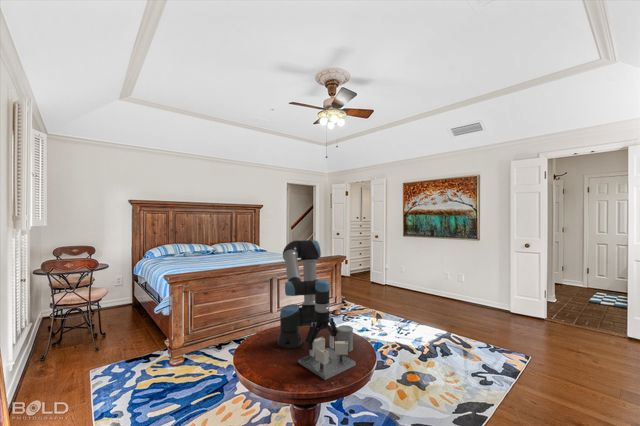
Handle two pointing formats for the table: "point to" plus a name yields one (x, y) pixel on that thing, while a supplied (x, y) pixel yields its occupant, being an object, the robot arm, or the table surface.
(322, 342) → the knob back
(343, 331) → the gray cylinder
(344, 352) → the knob
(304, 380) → the table surface
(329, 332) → the robot arm
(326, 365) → the grey flat square plate
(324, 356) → the knob
